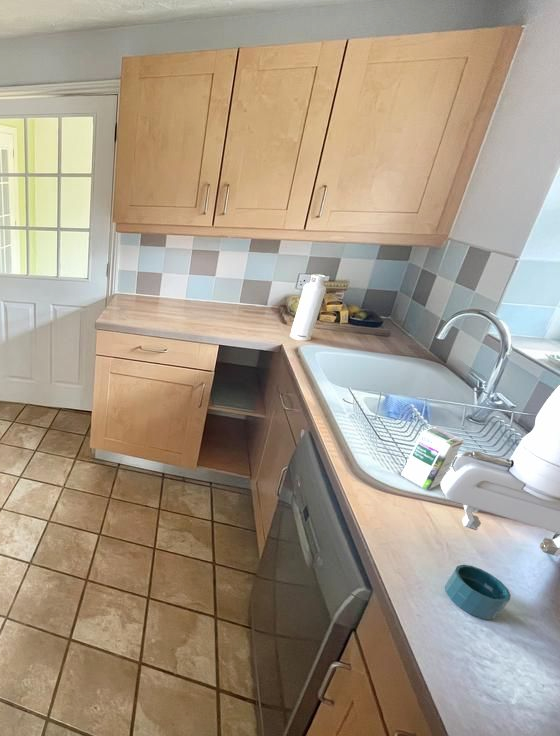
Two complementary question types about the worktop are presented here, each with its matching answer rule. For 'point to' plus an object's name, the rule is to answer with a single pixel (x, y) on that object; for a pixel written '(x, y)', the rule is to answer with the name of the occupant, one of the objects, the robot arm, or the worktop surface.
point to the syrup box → (431, 457)
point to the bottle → (308, 308)
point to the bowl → (477, 592)
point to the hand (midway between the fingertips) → (506, 538)
